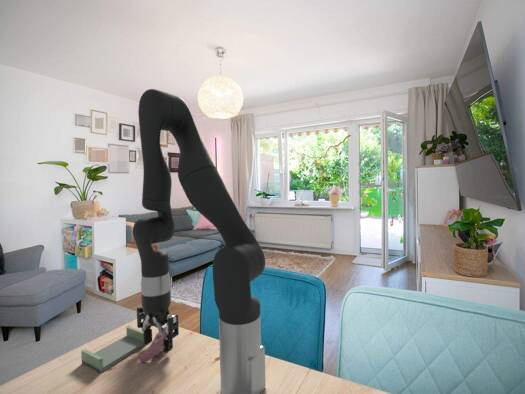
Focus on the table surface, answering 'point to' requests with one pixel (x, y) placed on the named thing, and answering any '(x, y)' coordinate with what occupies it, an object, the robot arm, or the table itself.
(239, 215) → the robot arm
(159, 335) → the video game controller
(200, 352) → the table surface
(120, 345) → the tray
